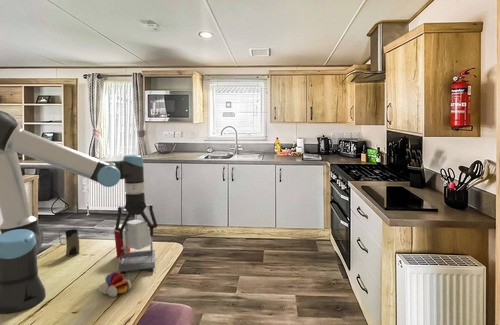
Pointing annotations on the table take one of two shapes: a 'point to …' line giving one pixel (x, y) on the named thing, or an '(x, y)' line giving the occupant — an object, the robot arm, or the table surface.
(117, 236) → the paper cup
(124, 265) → the grey storage bin
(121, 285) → the rainbow segmented toy
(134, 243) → the small box
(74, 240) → the mug
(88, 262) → the table surface
